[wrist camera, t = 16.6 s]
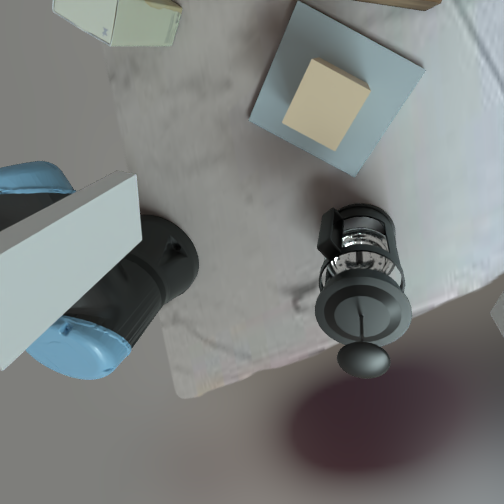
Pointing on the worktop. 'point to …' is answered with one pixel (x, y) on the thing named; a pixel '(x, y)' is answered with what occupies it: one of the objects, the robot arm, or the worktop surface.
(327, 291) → the french press
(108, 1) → the skincare box
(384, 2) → the box
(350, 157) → the lid
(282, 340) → the worktop surface
